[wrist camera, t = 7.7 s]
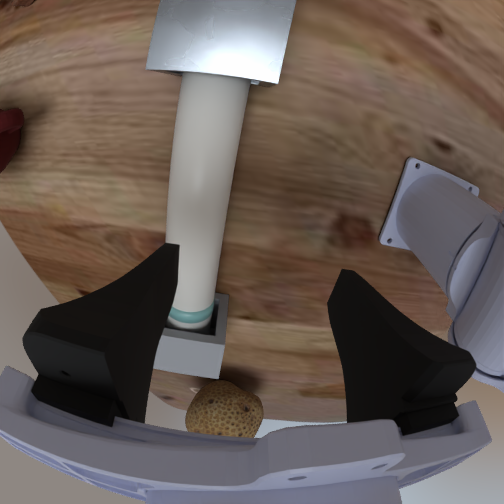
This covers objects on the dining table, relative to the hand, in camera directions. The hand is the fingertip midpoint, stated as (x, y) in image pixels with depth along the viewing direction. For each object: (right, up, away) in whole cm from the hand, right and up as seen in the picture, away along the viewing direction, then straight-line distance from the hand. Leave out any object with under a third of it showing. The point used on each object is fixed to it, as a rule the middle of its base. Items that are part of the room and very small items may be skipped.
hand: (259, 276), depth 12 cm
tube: (-4, +5, +8) cm, 10 cm away
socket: (-6, -5, +15) cm, 17 cm away
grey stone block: (-1, +17, +2) cm, 17 cm away
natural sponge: (-4, -16, +22) cm, 27 cm away
